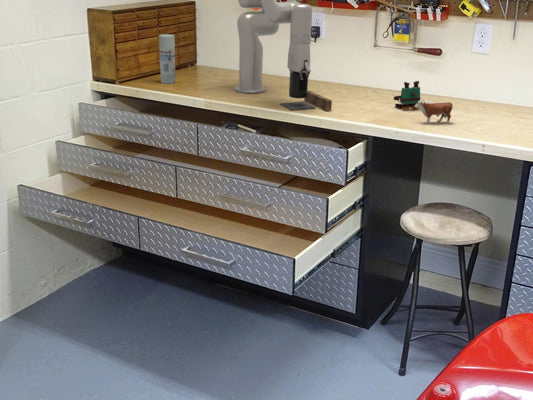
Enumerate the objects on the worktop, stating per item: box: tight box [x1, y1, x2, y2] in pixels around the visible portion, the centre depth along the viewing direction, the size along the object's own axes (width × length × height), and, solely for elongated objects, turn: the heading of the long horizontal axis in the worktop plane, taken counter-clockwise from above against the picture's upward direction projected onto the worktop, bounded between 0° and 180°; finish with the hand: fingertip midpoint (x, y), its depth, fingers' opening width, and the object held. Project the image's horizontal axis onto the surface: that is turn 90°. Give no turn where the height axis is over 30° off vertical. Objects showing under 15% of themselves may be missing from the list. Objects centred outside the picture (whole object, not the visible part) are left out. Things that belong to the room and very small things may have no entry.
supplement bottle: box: [288, 70, 309, 99], centre depth 236 cm, size 7×7×12 cm
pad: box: [279, 101, 316, 111], centre depth 239 cm, size 10×10×1 cm
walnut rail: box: [303, 90, 333, 112], centre depth 241 cm, size 18×2×4 cm, turn 24°
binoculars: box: [393, 80, 421, 111], centre depth 241 cm, size 9×11×10 cm
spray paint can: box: [158, 33, 176, 85], centre depth 272 cm, size 6×6×20 cm
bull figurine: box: [415, 98, 453, 125], centre depth 221 cm, size 4×13×8 cm, turn 95°
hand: (298, 88), depth 237 cm, fingers closed on supplement bottle, 6 cm apart
